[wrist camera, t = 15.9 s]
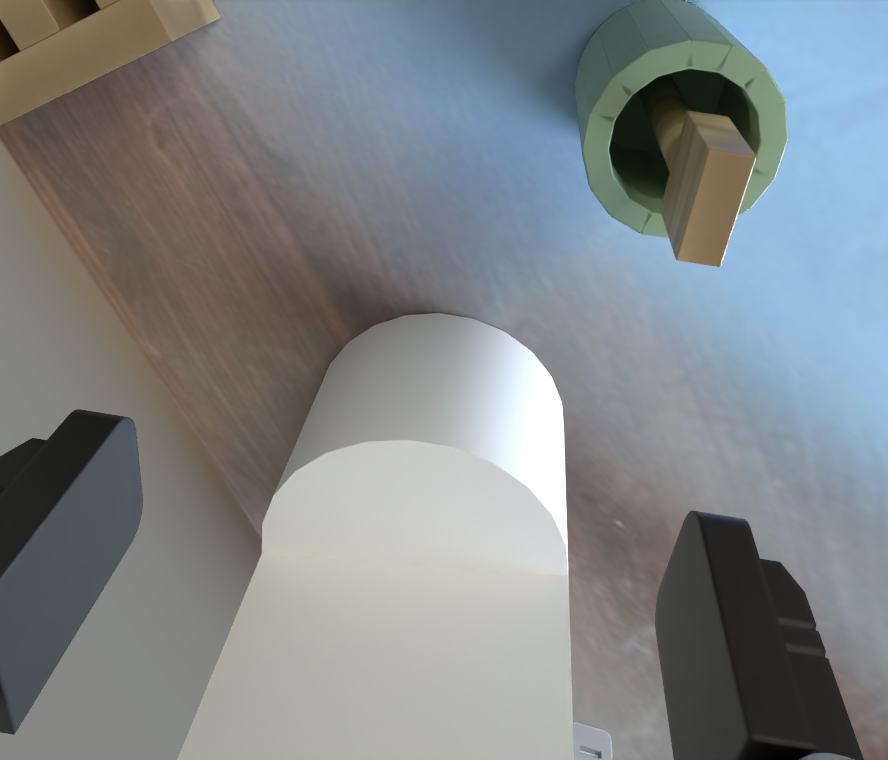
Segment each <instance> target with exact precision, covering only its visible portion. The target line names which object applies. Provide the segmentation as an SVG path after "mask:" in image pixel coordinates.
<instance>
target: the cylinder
mask: <svg viewBox="0 0 888 760" xmlns="http://www.w3.org/2000/svg"><path fill="white" fill-rule="evenodd" d="M177 760H574V746H573V713H572V680H571V647H570V615H569V582H568V549H567V516H566V483H565V450H564V424H563V410H562V402H561V399H560V397H559V394H558V392H557V389H556V387H555V384H554V382H553V379H552V377H551V375H550V374H549V373H548V371H547V370H546V369H545V368H544V366H543V365H542V364H541V363H540V361H539V360H538V359H537V357H536V356H535V355H534V354H533V352H532V351H530V350H529V349H528V348H526V347H525V346H524V345H522V344H521V343H520V342H518V341H517V340H515V339H514V338H513V337H511V336H510V335H509V334H507V333H506V332H504V331H502V330H499V329H497V328H495V327H492V326H490V325H487V324H485V323H483V322H480V321H478V320H476V319H473V318H467V317H460V316H454V315H448V314H442V313H431V314H417V315H404V316H401V317H398V318H395V319H392V320H389V321H386V322H383V323H380V324H377V325H374V326H372V327H371V328H369V329H368V330H366V331H365V332H363V333H362V334H360V335H359V336H357V337H355V338H354V339H352V340H351V341H349V342H348V343H347V344H346V345H345V347H344V348H343V349H342V350H341V352H340V353H339V354H338V355H337V356H336V358H335V359H334V360H333V361H332V362H331V364H330V365H329V368H328V370H327V372H326V374H325V377H324V379H323V381H322V384H321V386H320V388H319V391H318V393H317V395H316V398H315V400H314V402H313V405H312V407H311V409H310V412H309V414H308V416H307V419H306V421H305V423H304V426H303V428H302V430H301V433H300V435H299V437H298V440H297V442H296V444H295V447H294V449H293V451H292V454H291V456H290V458H289V461H288V463H287V465H286V468H285V470H284V472H283V475H282V477H281V479H280V482H279V484H278V486H277V489H276V491H275V493H274V496H273V498H272V501H271V503H270V506H269V508H268V511H267V513H266V516H265V518H264V521H263V524H262V554H261V557H260V559H259V562H258V564H257V567H256V569H255V572H254V574H253V576H252V579H251V581H250V584H249V586H248V589H247V591H246V594H245V596H244V598H243V601H242V603H241V606H240V608H239V610H238V613H237V616H236V618H235V620H234V623H233V625H232V628H231V630H230V633H229V635H228V637H227V640H226V642H225V645H224V647H223V649H222V652H221V654H220V657H219V660H218V662H217V664H216V667H215V669H214V671H213V674H212V676H211V679H210V681H209V684H208V686H207V689H206V691H205V693H204V696H203V699H202V701H201V703H200V706H199V708H198V710H197V713H196V716H195V718H194V720H193V723H192V725H191V727H190V730H189V732H188V735H187V737H186V740H185V743H184V745H183V747H182V750H181V752H180V754H179V757H178V759H177Z"/></svg>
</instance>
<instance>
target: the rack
mask: <svg viewBox="0 0 888 760" xmlns="http://www.w3.org/2000/svg"><path fill="white" fill-rule="evenodd" d="M220 18H221V17H220V15H219V13H218V11H217V9H216V7H215V5H214V3H213V1H212V0H0V125H2V124H4V123H6V122H8V121H10V120H12V119H15V118H17V117H19V116H21V115H23V114H25V113H27V112H29V111H31V110H33V109H35V108H37V107H39V106H41V105H43V104H46V103H48V102H50V101H52V100H54V99H56V98H58V97H60V96H62V95H64V94H66V93H68V92H70V91H72V90H74V89H76V88H78V87H80V86H82V85H85V84H87V83H89V82H91V81H93V80H95V79H97V78H99V77H101V76H103V75H105V74H107V73H109V72H111V71H113V70H115V69H117V68H119V67H121V66H124V65H126V64H128V63H130V62H132V61H134V60H136V59H138V58H140V57H142V56H144V55H146V54H148V53H150V52H152V51H154V50H156V49H158V48H160V47H162V46H165V45H167V44H169V43H171V42H173V41H175V40H177V39H179V38H181V37H183V36H185V35H187V34H189V33H191V32H193V31H195V30H197V29H199V28H201V27H203V26H206V25H208V24H210V23H212V22H214V21H216V20H218V19H220Z"/></svg>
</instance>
